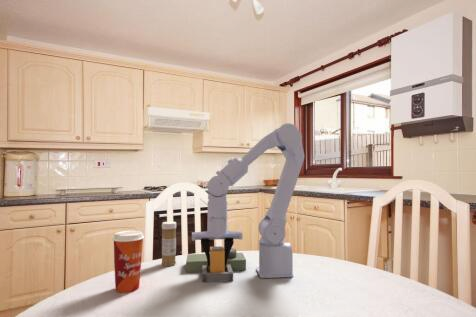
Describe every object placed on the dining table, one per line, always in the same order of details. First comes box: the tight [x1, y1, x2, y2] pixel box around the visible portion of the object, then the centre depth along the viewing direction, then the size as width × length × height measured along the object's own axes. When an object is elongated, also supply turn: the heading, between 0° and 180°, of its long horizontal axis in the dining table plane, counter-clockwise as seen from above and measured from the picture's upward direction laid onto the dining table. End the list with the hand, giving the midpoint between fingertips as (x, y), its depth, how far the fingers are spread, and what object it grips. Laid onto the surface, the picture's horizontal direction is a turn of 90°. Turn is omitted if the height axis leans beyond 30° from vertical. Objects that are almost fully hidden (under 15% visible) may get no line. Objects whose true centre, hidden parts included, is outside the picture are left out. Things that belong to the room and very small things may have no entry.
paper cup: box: [112, 230, 145, 294], centre depth 75 cm, size 8×8×14 cm
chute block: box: [209, 245, 226, 273], centre depth 84 cm, size 4×5×6 cm
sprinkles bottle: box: [161, 221, 177, 267], centre depth 94 cm, size 5×5×13 cm
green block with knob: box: [185, 248, 247, 283], centre depth 88 cm, size 18×17×5 cm
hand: (216, 264), depth 84 cm, fingers closed on chute block, 4 cm apart
